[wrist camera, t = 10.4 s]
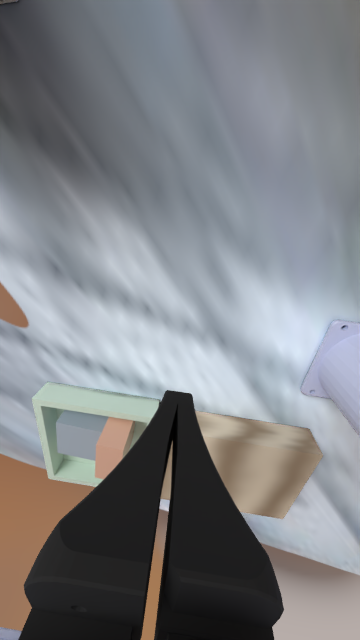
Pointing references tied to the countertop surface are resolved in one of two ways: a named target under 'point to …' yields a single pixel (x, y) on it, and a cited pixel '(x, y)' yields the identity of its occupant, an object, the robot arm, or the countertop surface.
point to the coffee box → (7, 1)
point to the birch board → (257, 461)
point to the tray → (85, 400)
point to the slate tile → (79, 433)
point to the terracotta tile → (113, 445)
